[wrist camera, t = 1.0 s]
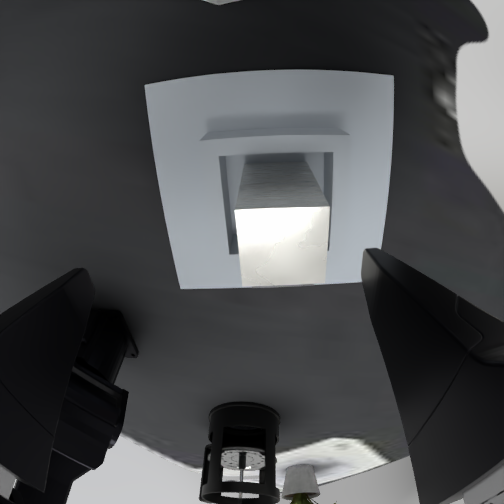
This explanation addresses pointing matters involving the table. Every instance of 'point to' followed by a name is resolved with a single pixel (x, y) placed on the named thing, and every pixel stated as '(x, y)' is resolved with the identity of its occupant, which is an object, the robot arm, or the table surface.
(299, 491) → the house plant
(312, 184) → the column
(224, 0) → the toilet paper
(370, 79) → the stand base
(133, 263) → the table surface
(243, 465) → the french press
